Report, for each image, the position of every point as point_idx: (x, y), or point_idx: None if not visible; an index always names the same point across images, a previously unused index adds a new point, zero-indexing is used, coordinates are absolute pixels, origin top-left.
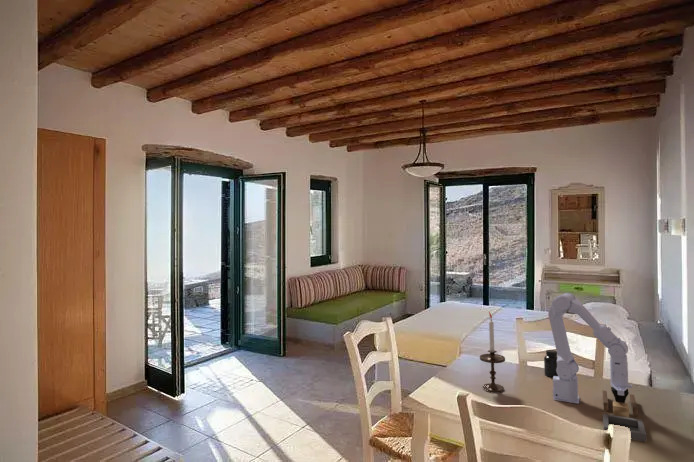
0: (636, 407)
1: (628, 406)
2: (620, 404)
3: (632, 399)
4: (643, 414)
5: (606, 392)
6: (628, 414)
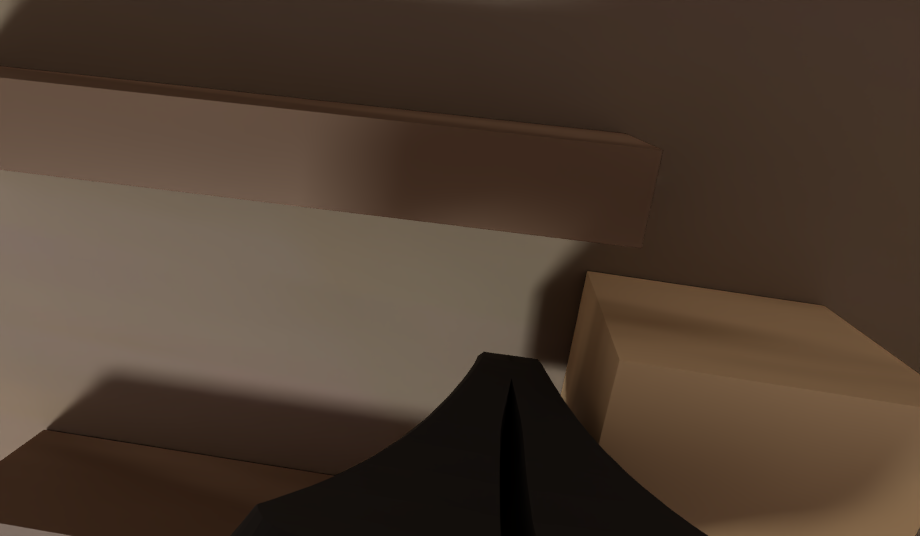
0: (651, 173)
1: (837, 397)
2: (728, 521)
3: (132, 154)
4: (525, 15)
5: (12, 530)
6: (874, 352)
